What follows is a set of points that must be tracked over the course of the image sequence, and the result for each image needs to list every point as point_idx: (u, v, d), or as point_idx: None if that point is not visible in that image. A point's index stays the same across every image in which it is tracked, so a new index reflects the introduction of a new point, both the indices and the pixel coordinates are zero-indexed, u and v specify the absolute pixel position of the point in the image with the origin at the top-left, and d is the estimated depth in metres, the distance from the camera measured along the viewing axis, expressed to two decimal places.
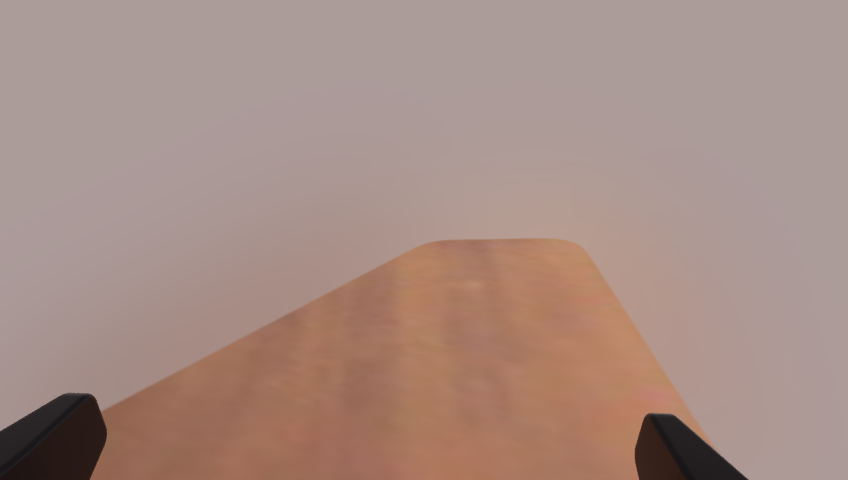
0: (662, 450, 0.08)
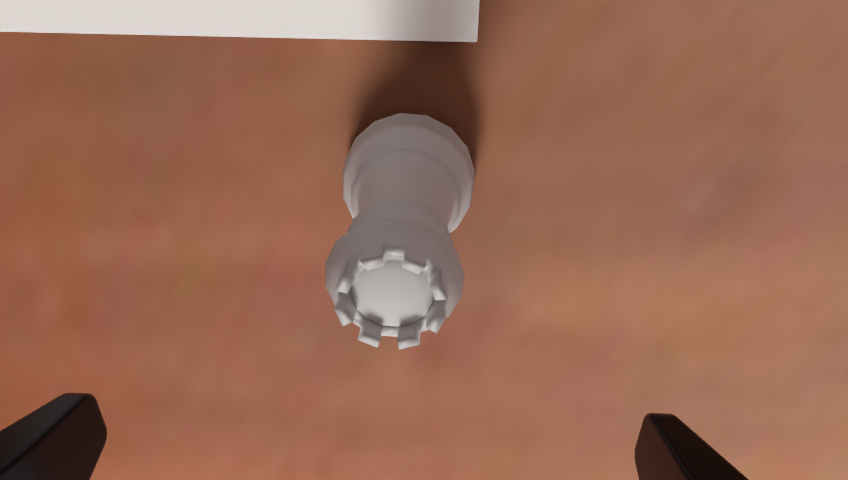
0: (661, 450, 0.08)
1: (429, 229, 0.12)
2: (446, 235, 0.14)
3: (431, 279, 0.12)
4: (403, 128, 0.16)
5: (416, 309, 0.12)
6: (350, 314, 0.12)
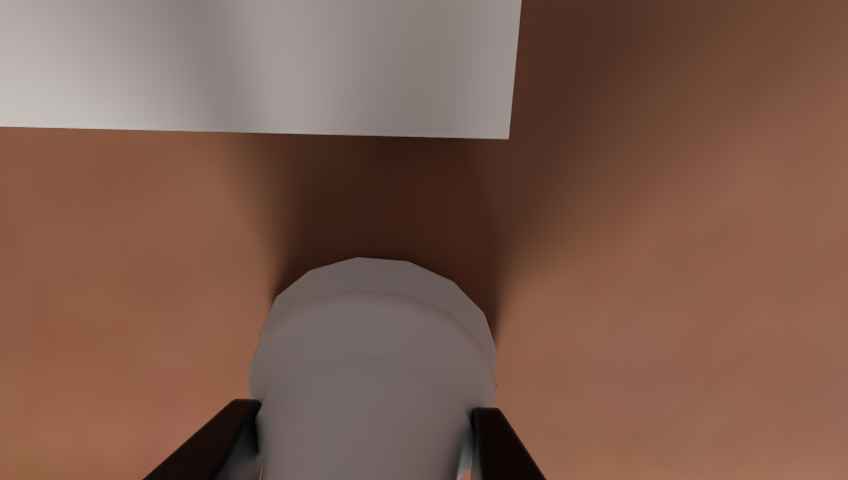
0: (475, 443, 0.08)
1: None
2: None
3: None
4: (358, 305, 0.08)
5: None
6: None
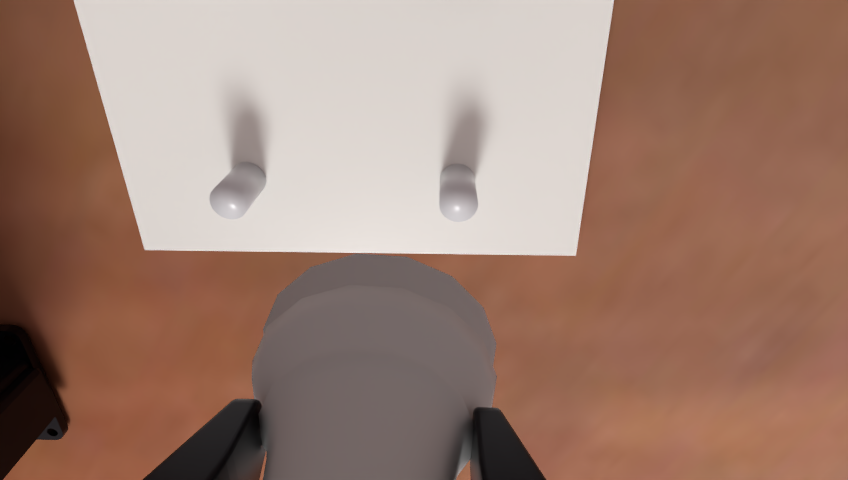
0: (475, 443, 0.08)
1: None
2: None
3: None
4: (358, 300, 0.08)
5: None
6: None
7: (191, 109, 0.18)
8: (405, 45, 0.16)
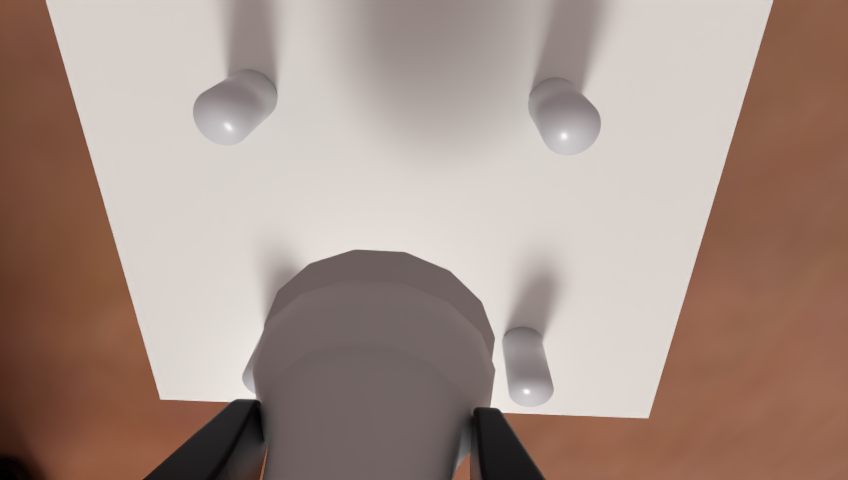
0: (475, 443, 0.08)
1: None
2: None
3: None
4: (357, 294, 0.08)
5: None
6: None
7: (221, 264, 0.15)
8: (474, 208, 0.14)
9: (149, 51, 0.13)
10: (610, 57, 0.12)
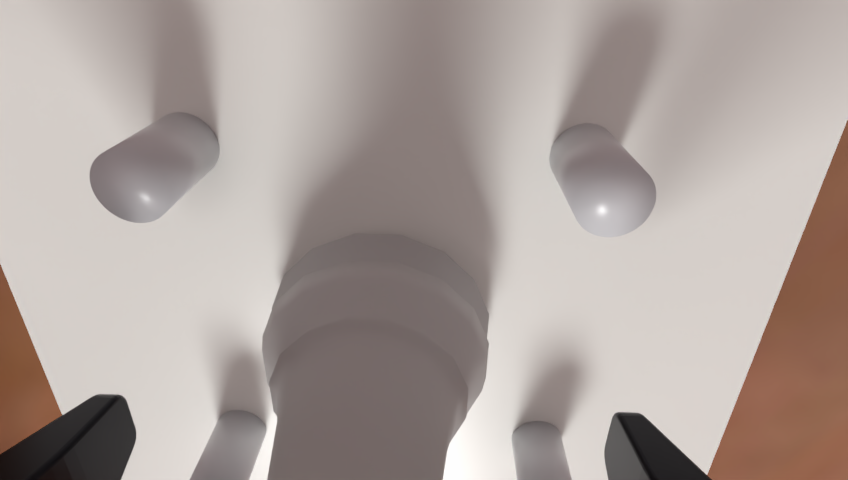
0: (627, 448, 0.08)
1: None
2: None
3: None
4: (356, 274, 0.09)
5: None
6: None
7: (160, 349, 0.12)
8: (478, 284, 0.11)
9: (47, 89, 0.09)
10: (660, 98, 0.09)
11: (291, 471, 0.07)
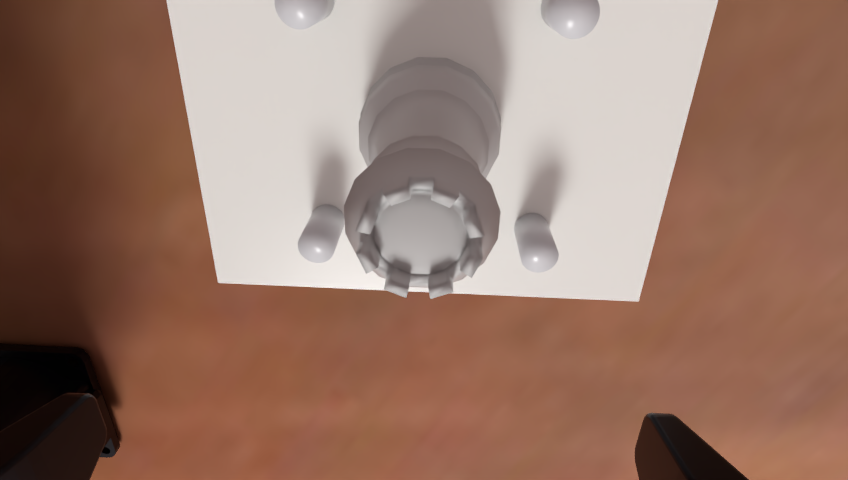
0: (662, 449, 0.08)
1: (459, 159, 0.10)
2: None
3: (464, 214, 0.10)
4: (422, 70, 0.15)
5: (448, 252, 0.11)
6: (374, 259, 0.11)
7: (279, 153, 0.18)
8: None
9: None
10: None
11: (397, 141, 0.13)
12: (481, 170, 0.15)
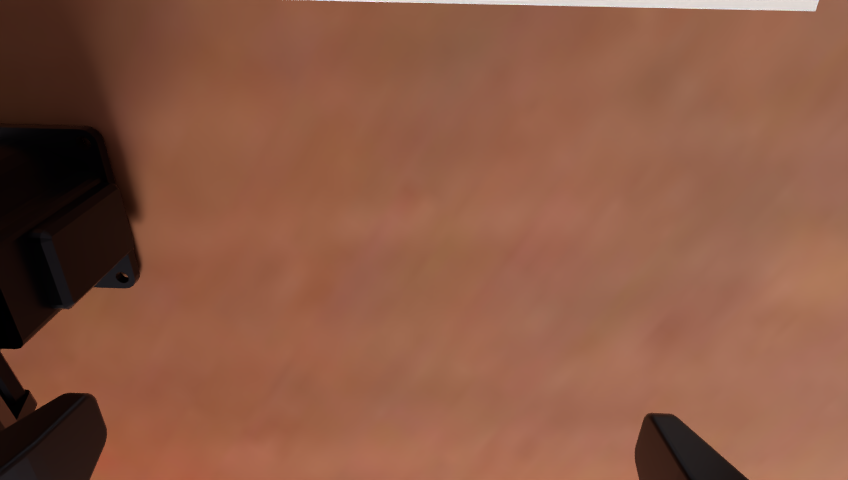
0: (662, 450, 0.08)
1: None
2: None
3: None
4: None
5: None
6: None
7: None
8: None
9: None
10: None
11: None
12: None
